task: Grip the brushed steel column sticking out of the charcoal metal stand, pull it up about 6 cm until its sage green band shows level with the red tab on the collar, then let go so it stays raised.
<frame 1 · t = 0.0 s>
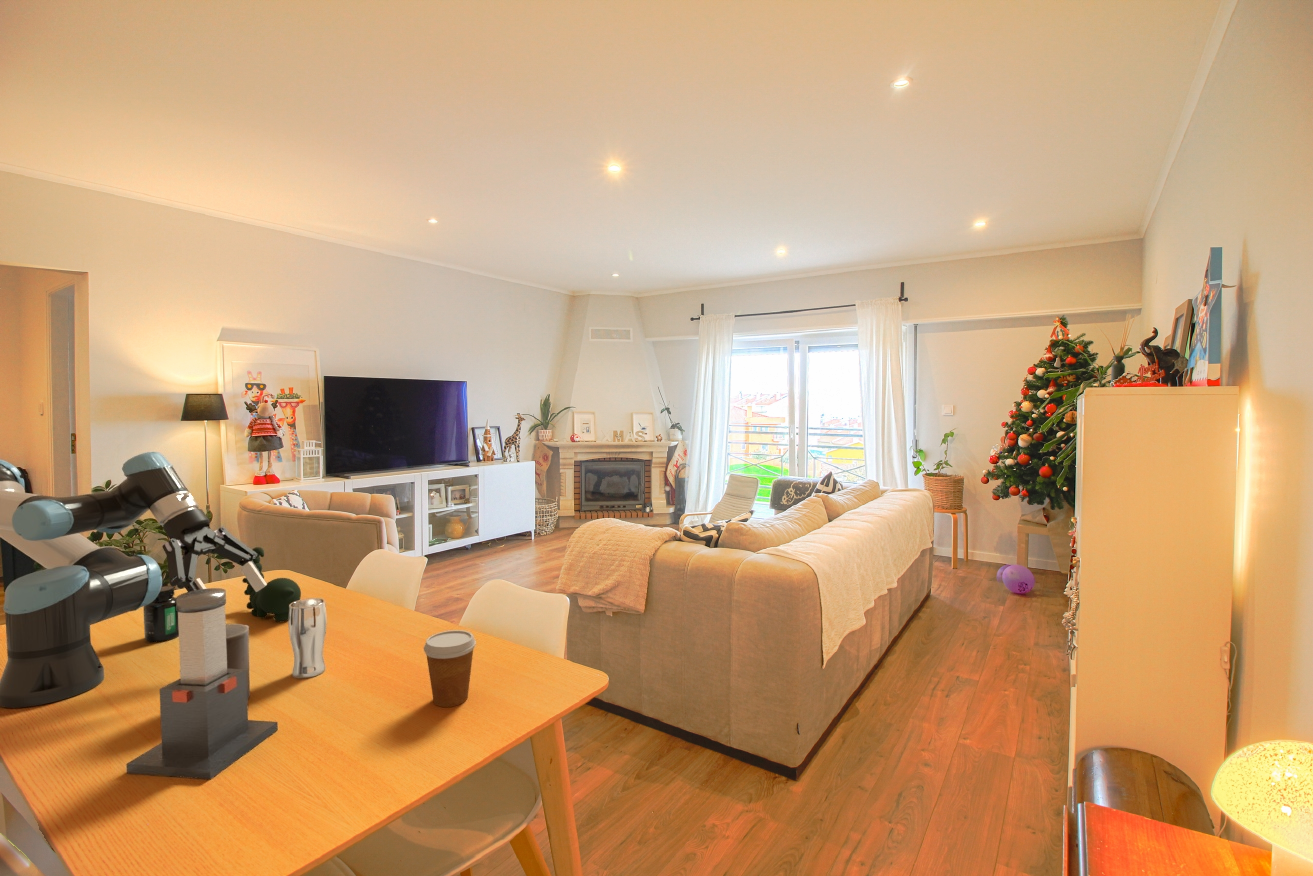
hand: (237, 598, 129), 15 cm above the table, tool tilted 35°, fingers open, 13 cm apart
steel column: (204, 666, 98), point 14 cm above the table, slide at 0.0 cm
disposable coffee cup: (450, 700, 117), on the table
jack stand: (207, 750, 99), on the table
pillar candle: (220, 703, 115), on the table
supplement bottle: (163, 638, 147), on the table
beer glass: (309, 673, 128), on the table
toy figurine: (271, 617, 162), on the table
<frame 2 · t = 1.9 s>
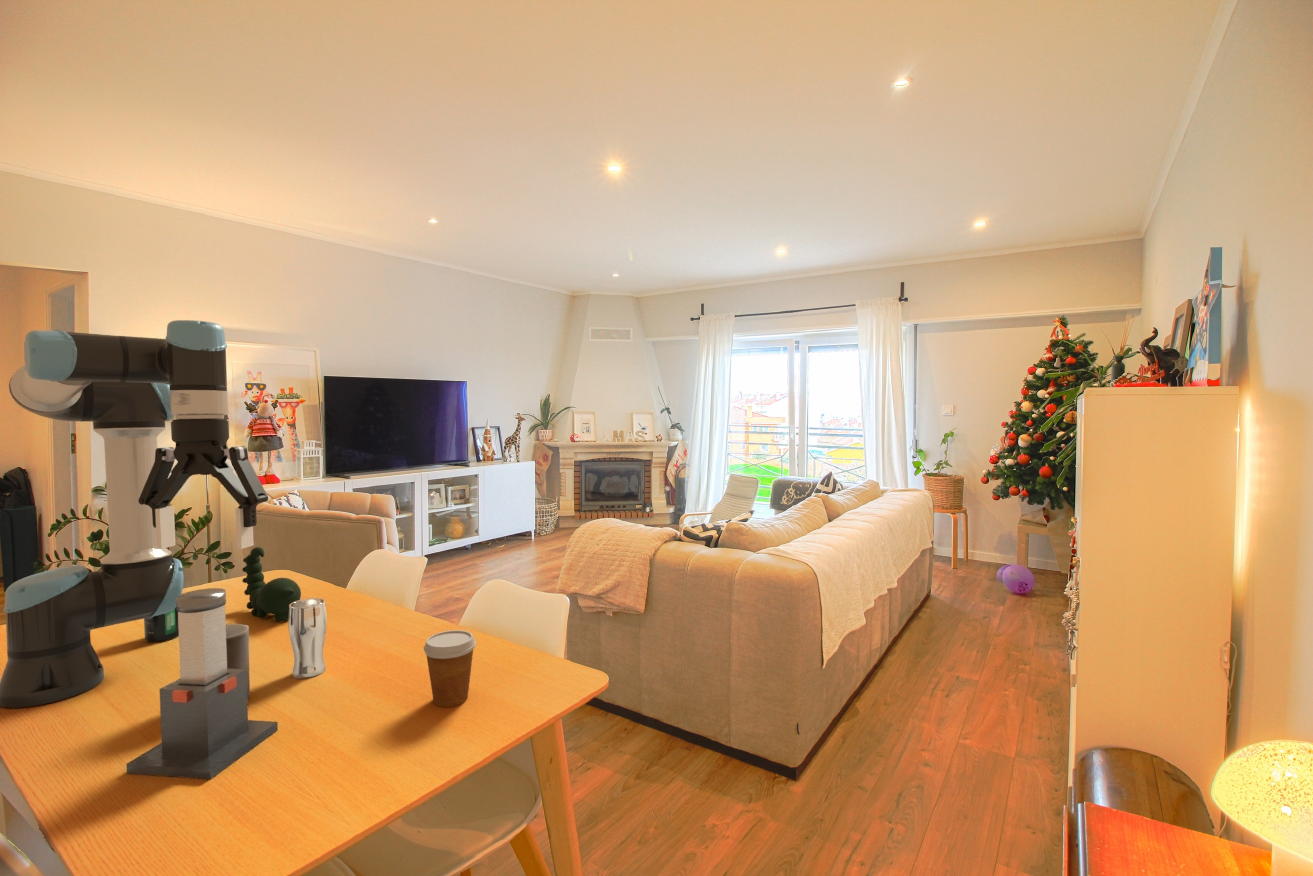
hand: (205, 547, 99), 33 cm above the table, tool pointing down, fingers open, 13 cm apart
nothing on the table moved.
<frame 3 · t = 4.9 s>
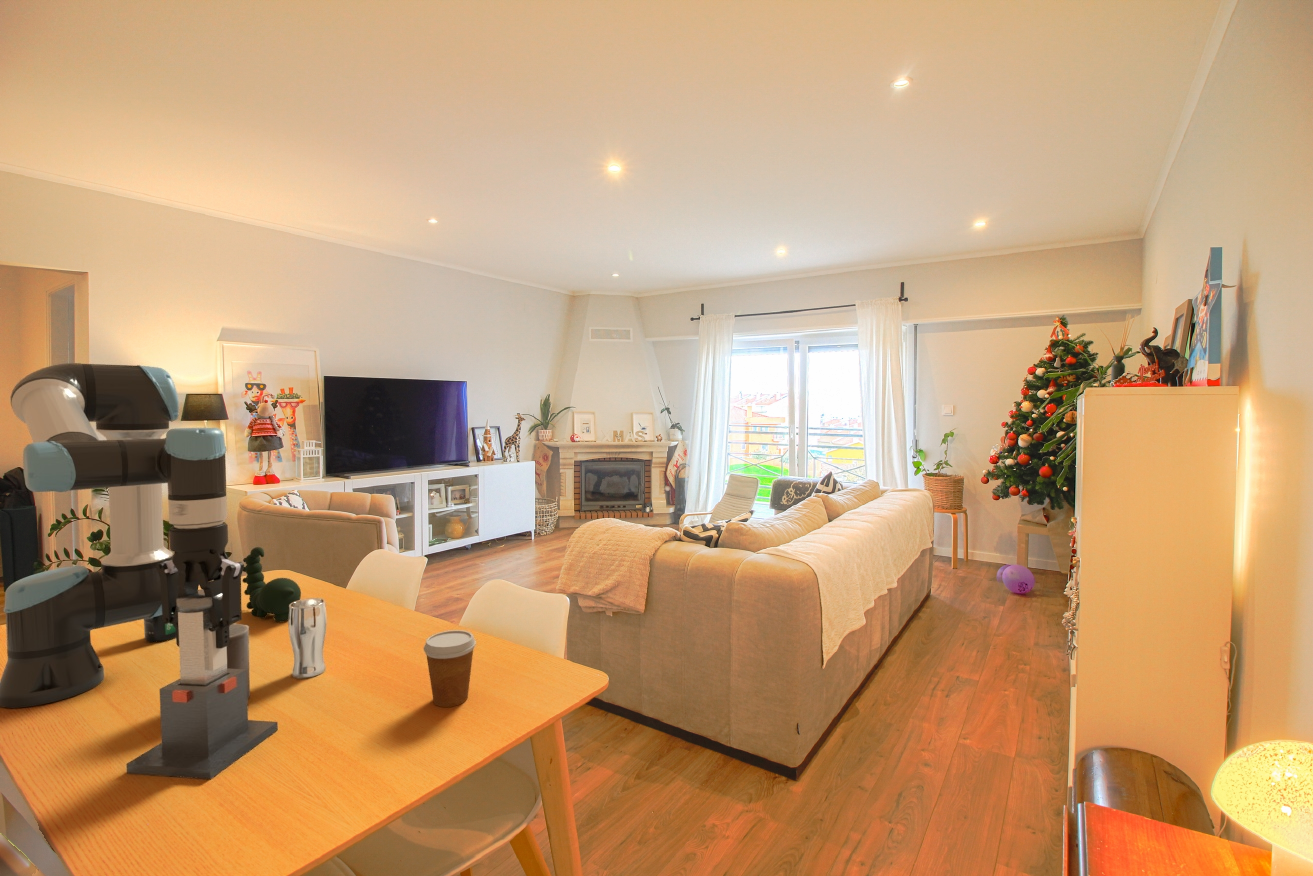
hand: (203, 665, 98), 14 cm above the table, tool pointing down, fingers closed on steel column, 4 cm apart
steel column: (204, 666, 98), point 14 cm above the table, slide at 0.0 cm, touching gripper
everything else where it was.
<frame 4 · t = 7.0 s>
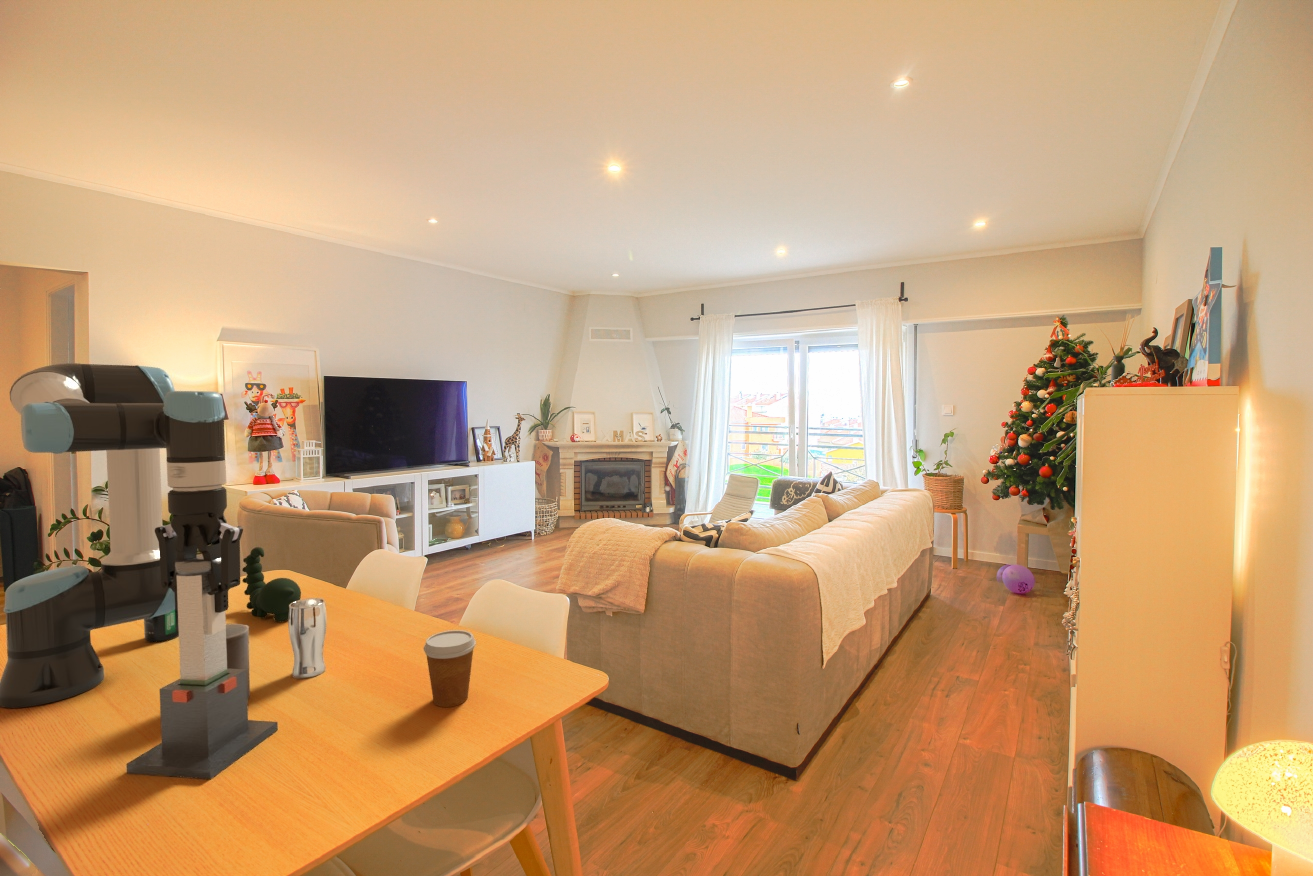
hand: (202, 630, 98), 20 cm above the table, tool pointing down, fingers closed on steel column, 4 cm apart
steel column: (202, 631, 98), point 20 cm above the table, slide at 5.8 cm, touching gripper
everything else where it was.
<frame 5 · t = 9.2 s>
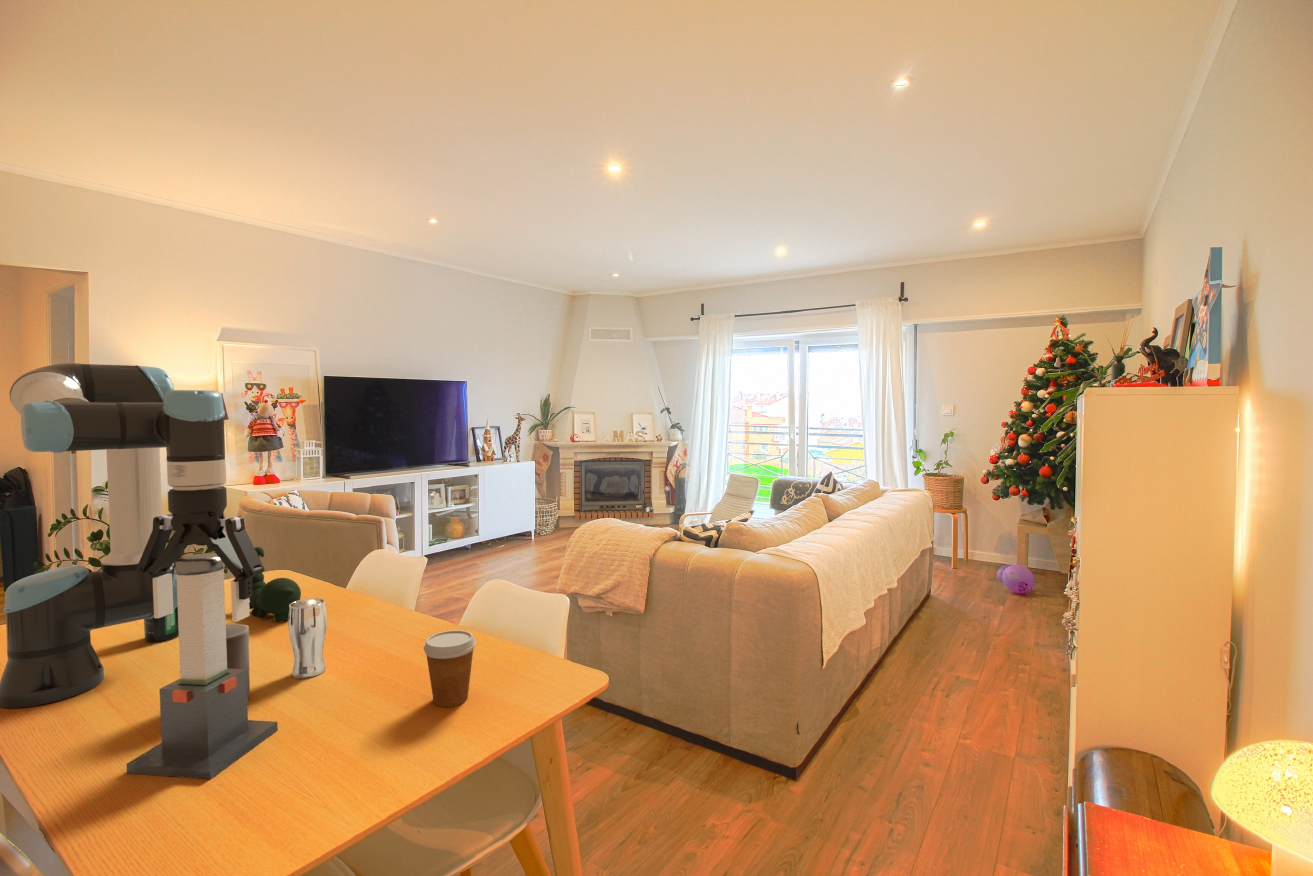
hand: (202, 617, 98), 22 cm above the table, tool pointing down, fingers open, 13 cm apart
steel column: (202, 630, 98), point 20 cm above the table, slide at 6.0 cm
everything else where it was.
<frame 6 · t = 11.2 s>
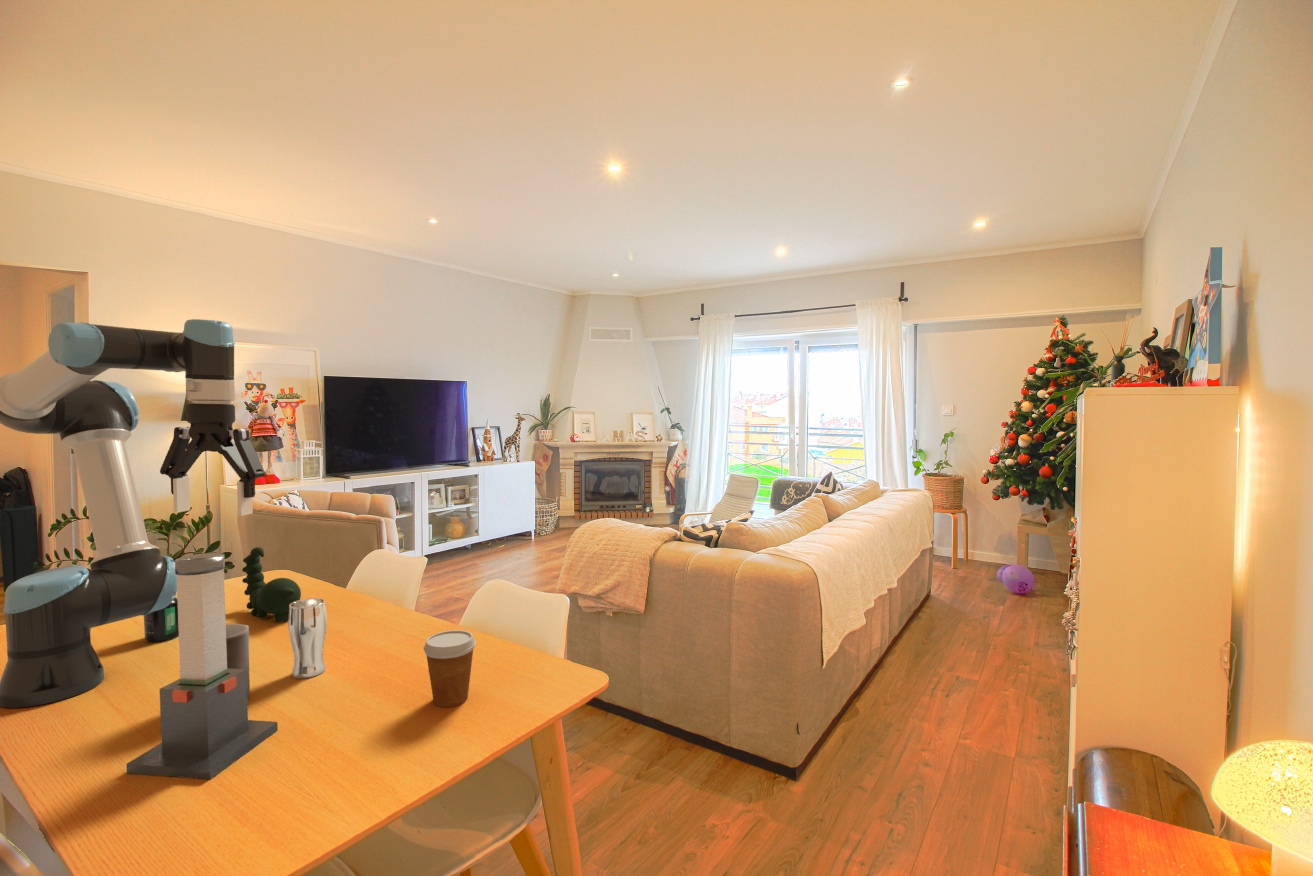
hand: (213, 513, 116), 36 cm above the table, tool pointing down, fingers open, 13 cm apart
nothing on the table moved.
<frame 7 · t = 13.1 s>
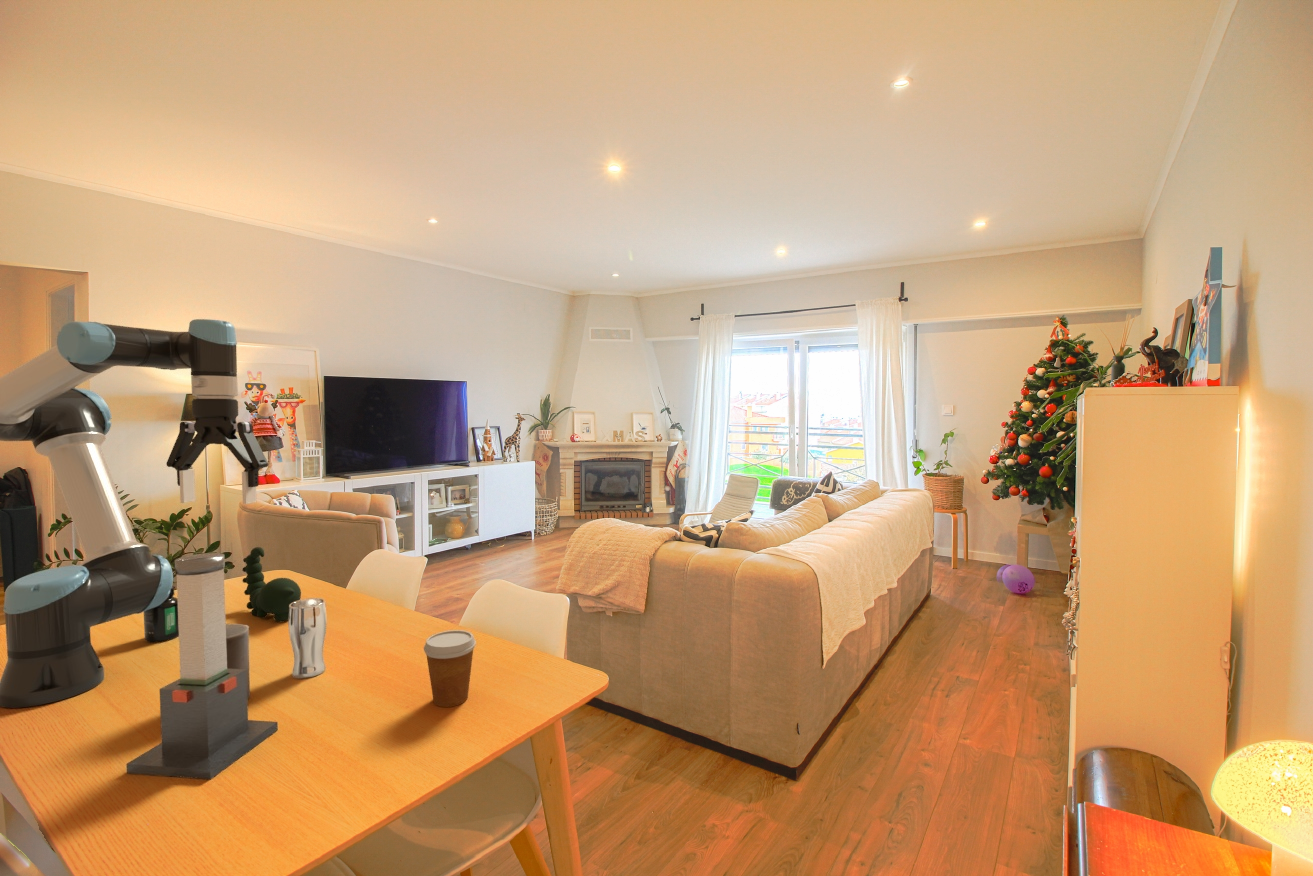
hand: (218, 502, 123), 37 cm above the table, tool pointing down, fingers open, 13 cm apart
nothing on the table moved.
at the end: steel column slide at 6.0 cm; the gripper is holding nothing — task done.
